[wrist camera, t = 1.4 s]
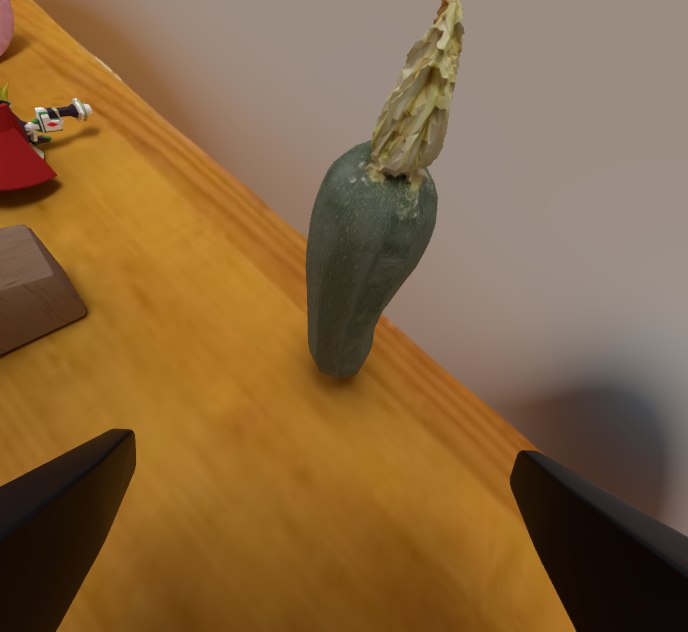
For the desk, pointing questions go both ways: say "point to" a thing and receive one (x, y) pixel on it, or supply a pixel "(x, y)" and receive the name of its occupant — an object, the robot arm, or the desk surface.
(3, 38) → the pink character statuette
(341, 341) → the vegetable
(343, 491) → the desk surface
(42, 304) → the wooden block
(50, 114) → the action figure
